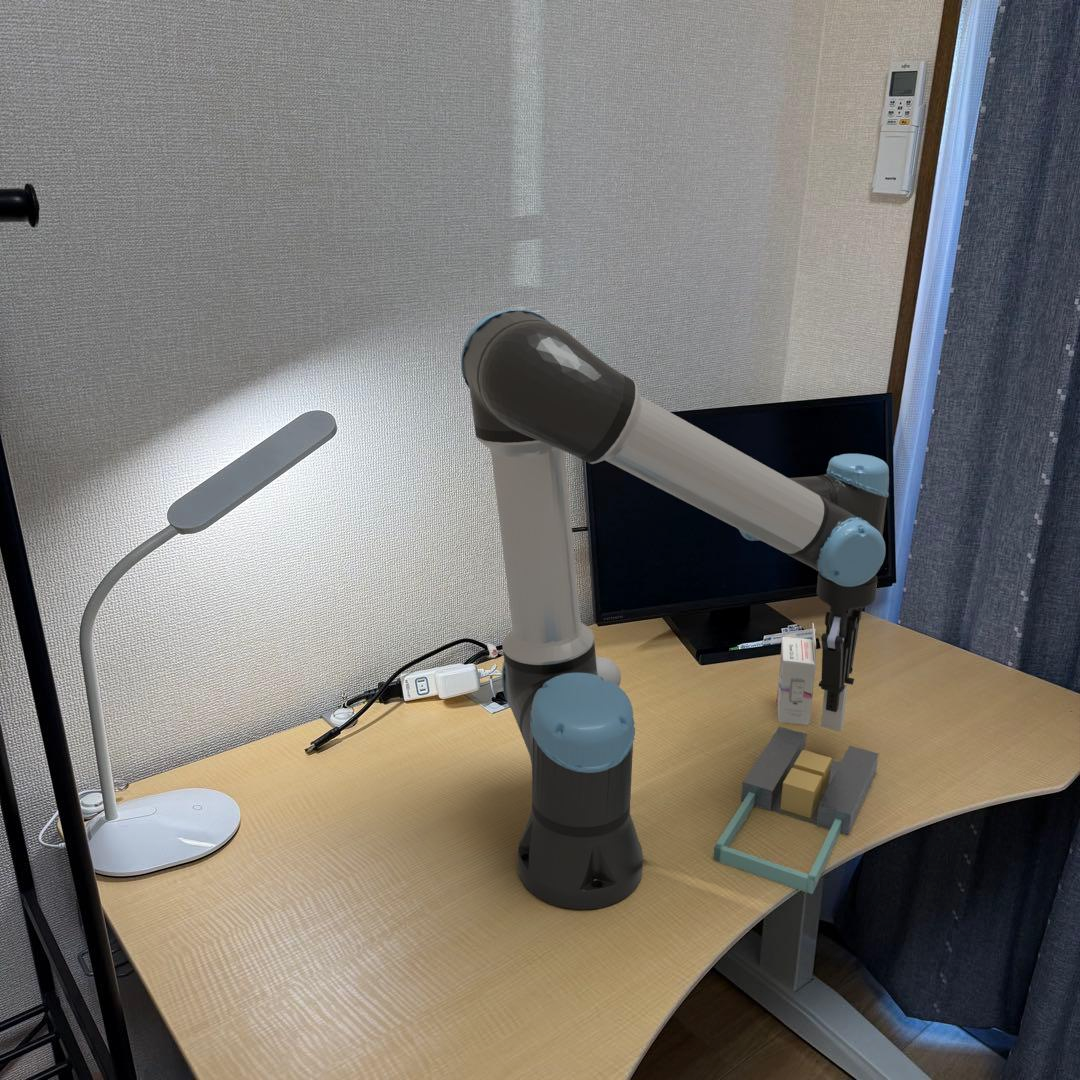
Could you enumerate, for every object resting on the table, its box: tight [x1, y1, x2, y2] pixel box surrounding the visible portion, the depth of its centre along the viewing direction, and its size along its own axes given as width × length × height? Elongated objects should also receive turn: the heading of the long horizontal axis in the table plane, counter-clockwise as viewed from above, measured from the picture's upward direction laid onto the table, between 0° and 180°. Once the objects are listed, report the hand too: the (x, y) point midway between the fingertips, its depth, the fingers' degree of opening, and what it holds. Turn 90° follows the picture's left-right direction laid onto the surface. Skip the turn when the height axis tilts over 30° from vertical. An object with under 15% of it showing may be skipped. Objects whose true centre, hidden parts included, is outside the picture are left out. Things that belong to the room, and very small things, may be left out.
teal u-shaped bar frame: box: [713, 792, 842, 895], centre depth 118 cm, size 13×12×3 cm
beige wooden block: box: [794, 749, 833, 798], centre depth 129 cm, size 4×4×4 cm
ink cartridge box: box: [776, 622, 817, 726], centre depth 147 cm, size 9×5×15 cm, turn 168°
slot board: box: [740, 726, 880, 836], centre depth 130 cm, size 16×14×4 cm
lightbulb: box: [596, 656, 622, 687], centre depth 146 cm, size 6×6×11 cm
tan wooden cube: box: [780, 768, 822, 818], centre depth 125 cm, size 4×4×4 cm
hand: (831, 726), depth 135 cm, fingers closed
